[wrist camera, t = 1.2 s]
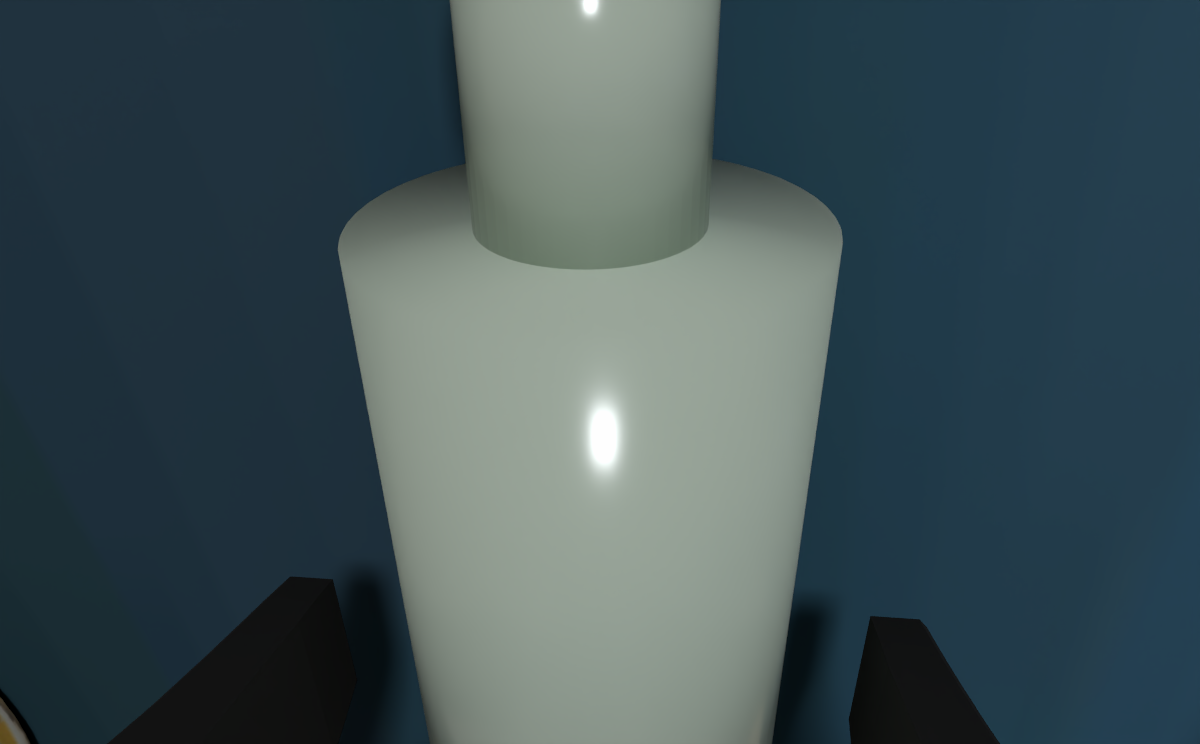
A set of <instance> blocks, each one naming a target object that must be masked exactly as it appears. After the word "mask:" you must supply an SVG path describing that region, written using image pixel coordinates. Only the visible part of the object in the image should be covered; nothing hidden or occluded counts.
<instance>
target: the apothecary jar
mask: <svg viewBox="0 0 1200 744" xmlns="http://www.w3.org/2000/svg"><path fill="white" fill-rule="evenodd" d="M0 744H31V743H30V741H29V739H28V737H27V735H26V733H25V732H24V730H23V729H22V727H21V725H20V723H19V722H18V720H17V719H16V717H15V716H14V714H13V713H12V711H11V710H10V709H9V708H8V707H7V705H6V704H5V702H4V701H3V700H2V698H1V697H0Z"/></svg>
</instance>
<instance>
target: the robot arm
mask: <svg viewBox="0 0 1200 744" xmlns="http://www.w3.org/2000/svg"><path fill="white" fill-rule="evenodd" d="M356 682H357V678H356V674H355V669H354V665H353V661H352V657H351V653H350V649H349V645H348V640H347V636H346V632H345V628H344V624H343V620H342V616H341V612H340V607H339V603H338V599H337V595H336V591H335V587H334V583H333V579H319V578H304V577H289V578H288V579H287V580H286V581H285V582H284V583H283V584H282V585H281V586H280V587H278V588H277V589H276V590H275V591H274V592H273V593H272V594H271V595H270V596H269V597H268V598H267V599H266V600H264V601H263V602H262V603H261V604H260V605H259V606H258V607H257V608H256V609H255V610H254V611H253V612H252V613H251V614H250V615H249V616H248V617H247V618H246V619H245V620H244V621H242V622H241V623H240V624H239V625H238V626H237V627H236V628H235V629H234V630H233V631H232V632H231V633H230V634H229V635H228V636H227V637H226V638H225V639H224V640H223V641H221V642H220V643H219V644H218V645H217V646H216V647H215V648H214V649H213V650H212V651H211V652H210V653H209V654H208V655H207V656H206V657H205V658H203V659H202V660H201V661H200V662H199V663H198V664H197V665H196V666H195V667H194V668H193V669H191V670H190V671H189V672H188V673H187V674H186V675H185V676H184V677H183V678H182V679H181V680H179V681H178V682H177V683H176V684H175V685H174V686H173V687H172V688H171V689H170V690H169V691H167V692H166V693H165V694H164V695H163V696H162V697H161V698H160V699H159V700H158V701H156V702H155V703H154V704H153V705H152V706H151V707H150V708H149V709H147V710H146V711H145V712H144V713H143V714H142V715H141V716H139V717H138V718H137V719H136V720H135V721H133V722H132V723H131V724H130V725H129V726H128V727H126V728H125V729H124V730H123V731H122V732H121V733H119V734H118V735H117V736H116V737H115V738H113V739H112V740H111V741H110V742H109V743H108V744H338V742H339V738H340V735H341V732H342V729H343V726H344V723H345V719H346V716H347V713H348V709H349V706H350V702H351V699H352V695H353V692H354V688H355V685H356ZM849 725H850V736H851V744H1000V743H999V742H998V740H997V739H996V737H995V736H994V734H993V733H992V731H991V730H990V728H989V727H988V725H987V724H986V722H985V721H984V719H983V718H982V716H981V715H980V713H979V712H978V710H977V709H976V707H975V705H974V704H973V702H972V701H971V699H970V698H969V696H968V695H967V693H966V691H965V690H964V688H963V687H962V685H961V684H960V682H959V680H958V679H957V677H956V676H955V674H954V672H953V671H952V669H951V667H950V666H949V664H948V663H947V661H946V659H945V658H944V656H943V654H942V653H941V651H940V649H939V648H938V646H937V644H936V642H935V641H934V639H933V637H932V636H931V634H930V632H929V630H928V629H927V627H926V626H925V625H924V624H923V623H922V622H921V621H920V620H919V619H904V618H890V617H875V616H870V621H869V626H868V631H867V635H866V640H865V645H864V650H863V655H862V659H861V664H860V669H859V674H858V678H857V683H856V688H855V693H854V697H853V702H852V707H851V712H850V716H849Z"/></svg>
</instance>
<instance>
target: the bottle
mask: <svg viewBox="0 0 1200 744" xmlns="http://www.w3.org/2000/svg"><path fill="white" fill-rule="evenodd" d="M720 5H721V0H450V8H451V19H452V29H453V39H454V49H455V59H456V70H457V80H458V90H459V100H460V110H461V121H462V131H463V141H464V151H465V161H466V164H463V165H459V166H455V167H451V168H447V169H443V170H440V171H437V172H434V173H431V174H428V175H424V176H422V177H419V178H417V179H414V180H411V181H409V182H406V183H404V184H402V185H399V186H397V187H395V188H393V189H391V190H389V191H387V192H385V193H383V194H382V195H380V196H379V197H377V198H375V199H374V200H372V201H370V202H369V203H368V204H366V205H365V206H364V207H363V208H362V209H360V210H359V211H358V212H357V213H356V214H355V215H354V216H353V217H352V218H351V219H350V221H349V222H348V223H347V224H346V226H345V228H344V230H343V232H342V233H341V235H340V239H339V245H338V253H339V258H340V263H341V269H342V274H343V279H344V285H345V290H346V295H347V301H348V306H349V312H350V317H351V322H352V328H353V333H354V338H355V344H356V349H357V354H358V360H359V365H360V370H361V376H362V381H363V386H364V392H365V397H366V403H367V408H368V413H369V419H370V424H371V429H372V435H373V440H374V445H375V451H376V456H377V461H378V467H379V472H380V478H381V483H382V488H383V494H384V499H385V504H386V510H387V515H388V520H389V526H390V531H391V536H392V542H393V547H394V552H395V558H396V563H397V569H398V574H399V579H400V585H401V590H402V595H403V601H404V606H405V611H406V617H407V622H408V627H409V633H410V638H411V644H412V649H413V654H414V660H415V665H416V670H417V676H418V681H419V686H420V692H421V697H422V702H423V708H424V713H425V718H426V724H427V729H428V735H429V740H430V744H772V740H773V733H774V726H775V718H776V711H777V704H778V697H779V690H780V683H781V676H782V669H783V662H784V655H785V648H786V641H787V634H788V626H789V619H790V612H791V605H792V598H793V591H794V584H795V577H796V570H797V563H798V556H799V549H800V542H801V534H802V527H803V520H804V513H805V506H806V499H807V492H808V485H809V478H810V471H811V464H812V457H813V450H814V442H815V435H816V428H817V421H818V414H819V407H820V400H821V393H822V386H823V379H824V372H825V365H826V358H827V350H828V343H829V336H830V329H831V322H832V315H833V308H834V301H835V294H836V287H837V280H838V273H839V266H840V258H841V251H842V244H843V240H842V230H841V228H840V226H839V223H838V221H837V219H836V217H835V216H834V215H833V214H832V212H831V211H830V210H829V209H828V208H827V206H825V205H824V204H823V203H822V202H820V201H819V200H818V199H817V198H816V197H814V196H813V195H811V194H810V193H808V192H806V191H805V190H803V189H801V188H800V187H798V186H796V185H794V184H792V183H789V182H787V181H785V180H783V179H781V178H778V177H776V176H773V175H770V174H768V173H765V172H762V171H759V170H756V169H752V168H749V167H745V166H742V165H738V164H734V163H729V162H725V161H721V160H716V159H712V154H713V135H714V117H715V98H716V79H717V61H718V42H719V24H720Z"/></svg>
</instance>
